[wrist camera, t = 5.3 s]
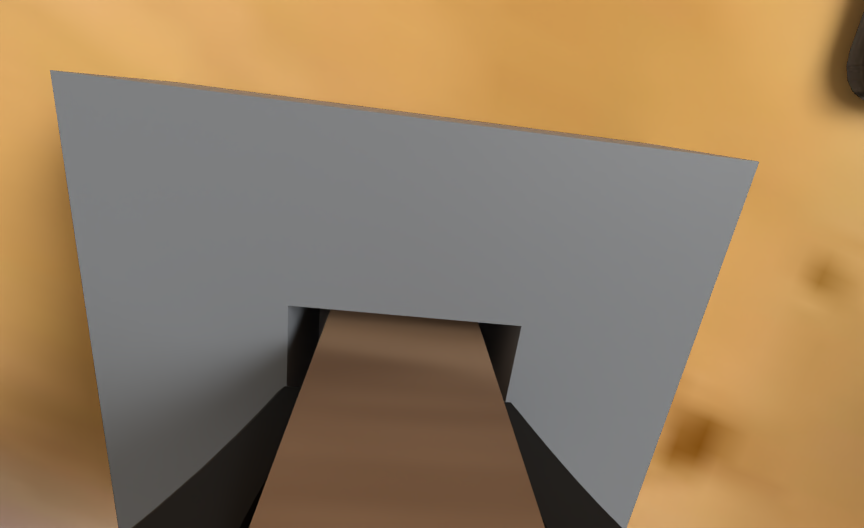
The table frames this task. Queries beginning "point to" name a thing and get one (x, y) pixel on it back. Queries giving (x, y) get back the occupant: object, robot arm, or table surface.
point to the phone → (857, 62)
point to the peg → (398, 433)
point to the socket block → (378, 264)
